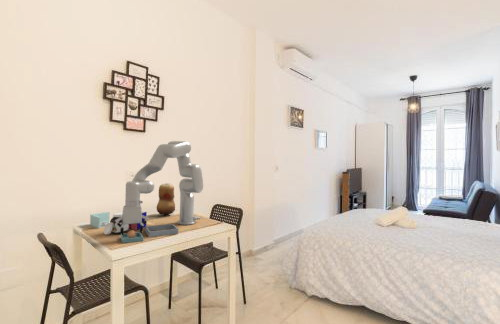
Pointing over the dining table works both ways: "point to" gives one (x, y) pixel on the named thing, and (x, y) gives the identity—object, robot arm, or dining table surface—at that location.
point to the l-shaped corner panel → (99, 219)
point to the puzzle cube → (137, 225)
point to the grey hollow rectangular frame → (163, 232)
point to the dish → (127, 240)
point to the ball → (131, 234)
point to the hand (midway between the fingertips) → (131, 233)
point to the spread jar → (115, 225)
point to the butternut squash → (166, 199)
